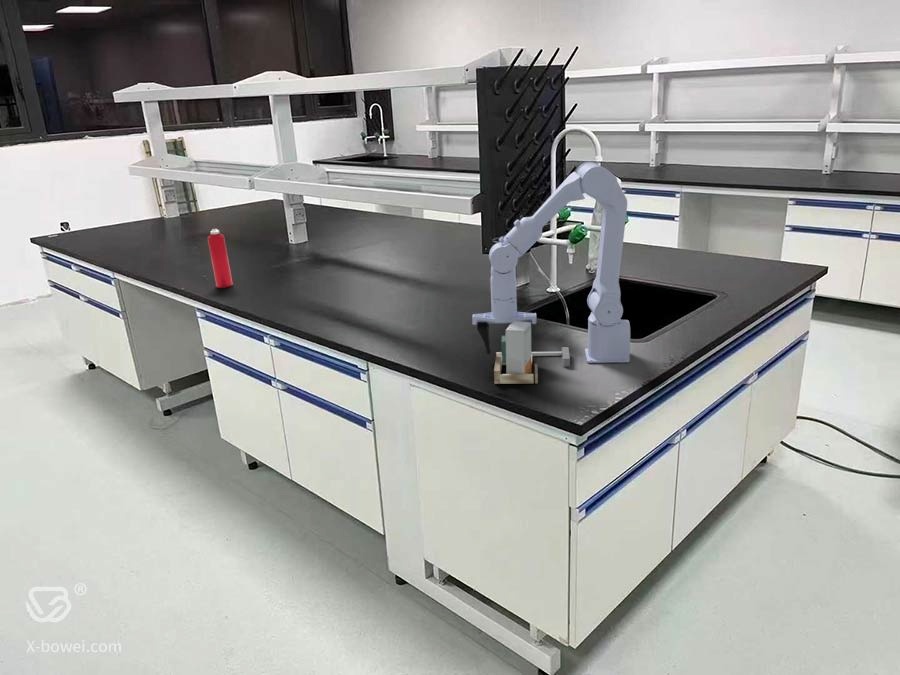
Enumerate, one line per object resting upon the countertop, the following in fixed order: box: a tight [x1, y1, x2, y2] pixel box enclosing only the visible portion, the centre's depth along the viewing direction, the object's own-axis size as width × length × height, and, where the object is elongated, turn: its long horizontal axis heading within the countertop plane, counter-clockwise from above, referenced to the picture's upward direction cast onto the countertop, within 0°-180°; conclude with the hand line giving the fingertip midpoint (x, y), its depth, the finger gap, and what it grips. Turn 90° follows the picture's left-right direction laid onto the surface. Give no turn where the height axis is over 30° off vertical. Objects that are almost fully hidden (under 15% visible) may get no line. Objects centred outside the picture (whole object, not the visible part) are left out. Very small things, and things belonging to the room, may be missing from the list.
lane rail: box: [495, 346, 571, 368], centre depth 157 cm, size 17×7×2 cm, turn 83°
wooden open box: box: [493, 335, 539, 385], centre depth 151 cm, size 9×15×6 cm, turn 174°
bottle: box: [207, 228, 234, 289], centre depth 232 cm, size 5×5×20 cm
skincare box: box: [505, 321, 532, 374], centre depth 147 cm, size 6×4×12 cm
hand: (505, 352), depth 157 cm, fingers open, 7 cm apart
